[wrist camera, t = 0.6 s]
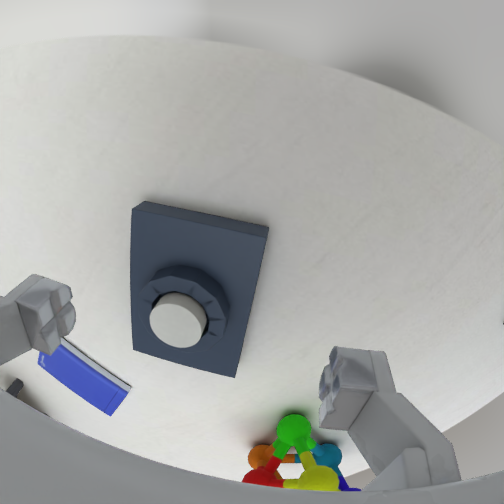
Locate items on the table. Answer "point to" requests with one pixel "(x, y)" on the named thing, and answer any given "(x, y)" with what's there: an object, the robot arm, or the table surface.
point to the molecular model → (297, 460)
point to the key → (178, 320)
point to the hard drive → (84, 377)
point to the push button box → (194, 280)
